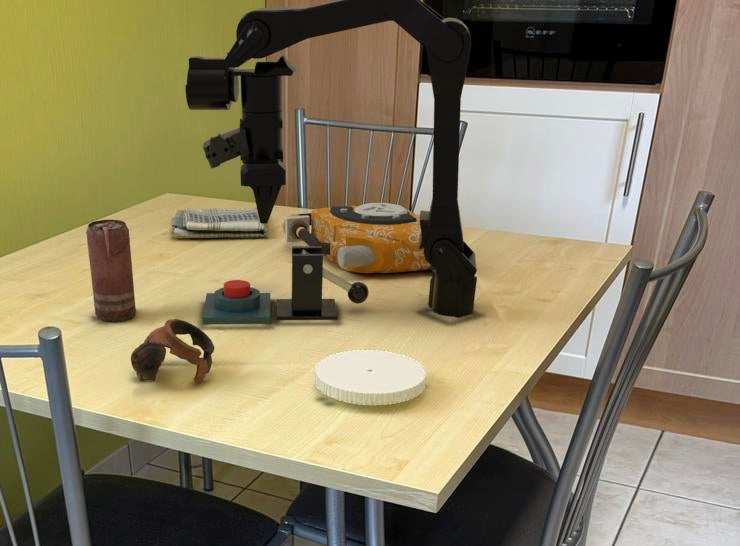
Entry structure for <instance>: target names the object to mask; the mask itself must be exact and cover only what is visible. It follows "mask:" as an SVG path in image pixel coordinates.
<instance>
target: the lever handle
mask: <svg viewBox="0 0 740 546" xmlns="http://www.w3.org/2000/svg"><path fill="white" fill-rule="evenodd" d="M301 254H310V253H309V252H307V251H305V250H302V252H301ZM323 279H325V280H327V281H329V282H331V283H332V284H334V285H335V286H337V287H339V288H341V289H342V290H344V291H346V292H347V299H349V301H350V302H351V303H354V304H363V303H364V302H366V301H367V299H368V298H369V293H370V292H369V288H368V286H367V284H366V283H364V282H362V281H356V282H355V281H354V282H353V283H350V282H349V281H347V280H345V279H344V278H342V277H340V276H339V275H338V274H335V273H333V272H331V270H329V269H327V268H325V267H323Z"/></svg>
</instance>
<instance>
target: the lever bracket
mask: <svg viewBox="0 0 740 546" xmlns="http://www.w3.org/2000/svg"><path fill="white" fill-rule="evenodd" d="M302 250H305V251H307V252H309V253H310V254H301V252H302ZM323 268H324V254H322V246H309V245H291V298H276V321H338V319H339V318H338V311H337V305H336V300H335V298H323V279H324V277H323Z"/></svg>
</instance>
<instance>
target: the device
mask: <svg viewBox="0 0 740 546" xmlns="http://www.w3.org/2000/svg"><path fill="white" fill-rule="evenodd" d="M281 226H282V231H283V233H284V241H285V242H286V243H296V242H305V244H307V246H322V254H323V256H325V257H327V258H328V259H329V260H330V261H332V263H334V264H338V266H339V267H340V268H341V269H344V270H345V271H348V272H352V273H353V272H354V273H361V274H373V273H375V274H391V273H407V272H418V271H430V272H431V273H432V271H433V270H436V269H435V267H433V266H431V265H430V264H429V263H428V262H427V261H426V259H425V257H424V248H422V249H419V240H420V234H421V228H420V214H416V213H415V212H413V211H411V210H409V209H407V208H405V207H404V206H402V205H401V204H397V203H396V204H395V203H389V202H370V203H363V204H360V205H358V206H357V205H345V206H344V205H343V206H342V205H341V206H340V205H339V206H331V207H322V208H312V210H311V212H309V213H308V212H307V213H290V214H288V215H286V216H285V217H284V218H283V220H282V223H281ZM310 226H311V227H310Z"/></svg>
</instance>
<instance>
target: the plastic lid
mask: <svg viewBox="0 0 740 546" xmlns="http://www.w3.org/2000/svg"><path fill="white" fill-rule="evenodd" d="M313 375H314V376H313V377H314V378H313V381H314V382H313V383H314V386H315V388H317V390H318V391H319V392H321V394H324V395H325V396H327V397H328V398H331V399H334V400H336V401H339V402H343V403H348V404H353V405H360V406H361V405H363V406H382V405H383V406H387V405H392V404H393V405H396V404H400V403H405V402H406V401H409V400H412V399H415V398H416V397H418V396H420V395H421V394H422V393H423V392H424V390H425V389H426V384H427V383H426V381H427V370H426V368H425V366H424V365H423V364H422V363H421V362H419V361H417V360H416V359H414V358H413V357H410V356H407V355H406V354H405V355H403V354H402V353H398V352H394V351H386V350H380V349H378V350H377V349H354V350H353V349H352V350H345V351H341V352H337V353H333V354H330V355H326V356H325V357H324V358H322V359H321V360H319V361H318V362H317V363H316V364H315V367H314V374H313Z"/></svg>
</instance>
